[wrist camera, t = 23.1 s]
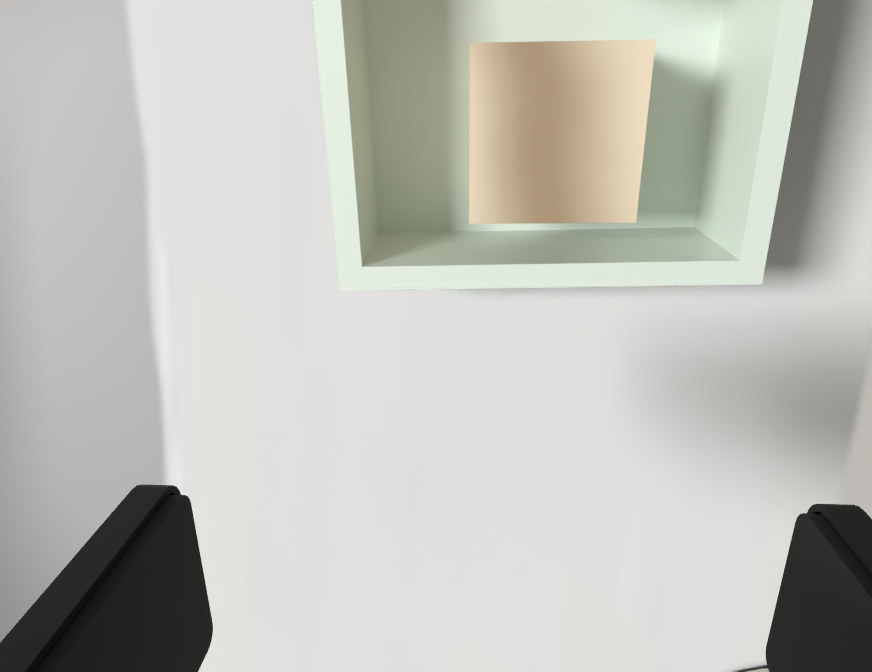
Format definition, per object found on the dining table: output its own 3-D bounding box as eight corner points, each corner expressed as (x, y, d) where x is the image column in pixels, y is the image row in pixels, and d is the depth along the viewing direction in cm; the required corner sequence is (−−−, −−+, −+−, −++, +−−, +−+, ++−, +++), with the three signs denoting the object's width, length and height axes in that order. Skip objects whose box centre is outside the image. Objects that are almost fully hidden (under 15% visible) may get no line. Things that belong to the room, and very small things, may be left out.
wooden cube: (615, 43, 22) (656, 39, 17) (603, 191, 24) (635, 222, 19) (468, 46, 22) (469, 42, 17) (468, 192, 24) (469, 223, 19)
